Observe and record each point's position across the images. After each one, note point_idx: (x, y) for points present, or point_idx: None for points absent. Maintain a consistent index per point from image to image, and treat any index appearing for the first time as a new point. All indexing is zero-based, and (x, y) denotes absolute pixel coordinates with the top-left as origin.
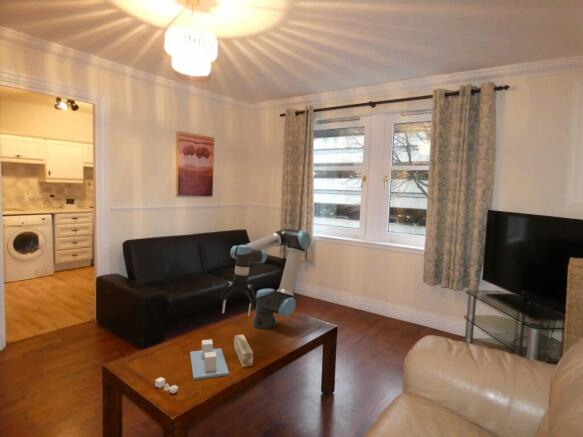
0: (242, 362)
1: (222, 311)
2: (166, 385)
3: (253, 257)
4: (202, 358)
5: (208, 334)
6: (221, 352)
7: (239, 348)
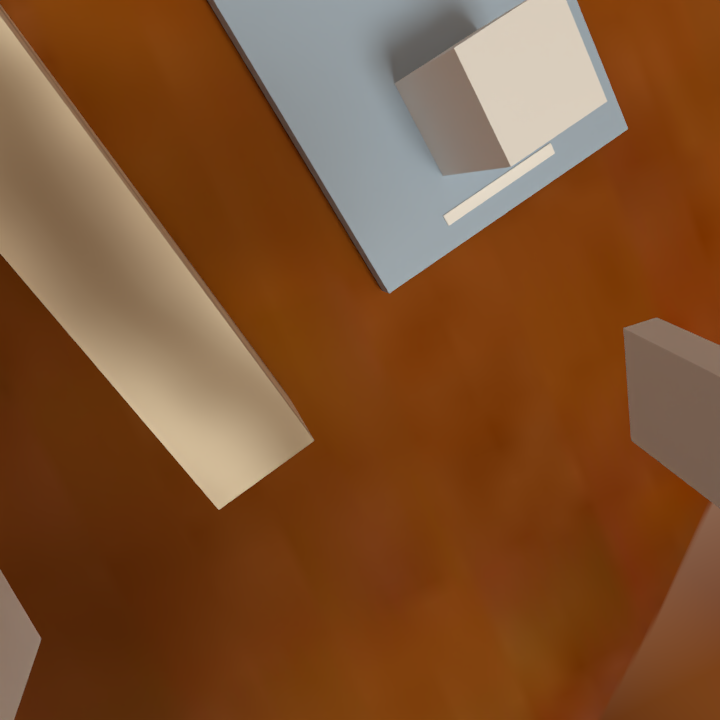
0: None
1: (682, 329)
2: None
3: None
4: (473, 19)
5: (601, 534)
6: (348, 207)
7: (108, 160)
